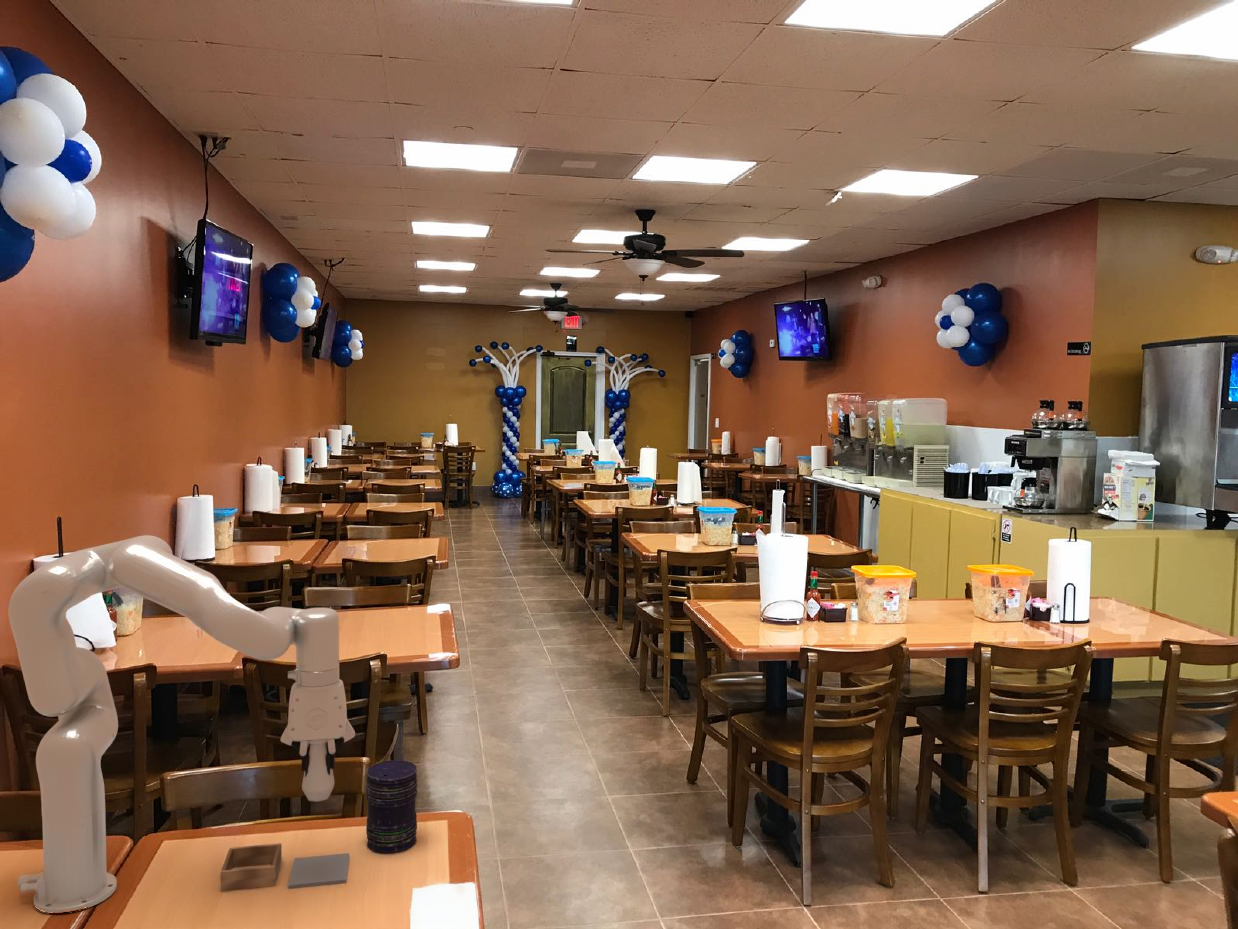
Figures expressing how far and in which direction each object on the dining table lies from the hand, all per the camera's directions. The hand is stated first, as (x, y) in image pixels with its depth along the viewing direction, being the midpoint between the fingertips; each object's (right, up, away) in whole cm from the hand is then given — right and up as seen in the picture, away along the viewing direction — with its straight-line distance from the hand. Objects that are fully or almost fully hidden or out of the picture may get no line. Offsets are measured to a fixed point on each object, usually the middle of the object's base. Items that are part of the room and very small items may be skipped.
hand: (318, 772), depth 169 cm
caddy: (-12, -19, 0) cm, 23 cm away
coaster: (0, -19, +1) cm, 19 cm away
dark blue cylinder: (+10, -19, +13) cm, 25 cm away
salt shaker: (0, -5, 0) cm, 5 cm away
